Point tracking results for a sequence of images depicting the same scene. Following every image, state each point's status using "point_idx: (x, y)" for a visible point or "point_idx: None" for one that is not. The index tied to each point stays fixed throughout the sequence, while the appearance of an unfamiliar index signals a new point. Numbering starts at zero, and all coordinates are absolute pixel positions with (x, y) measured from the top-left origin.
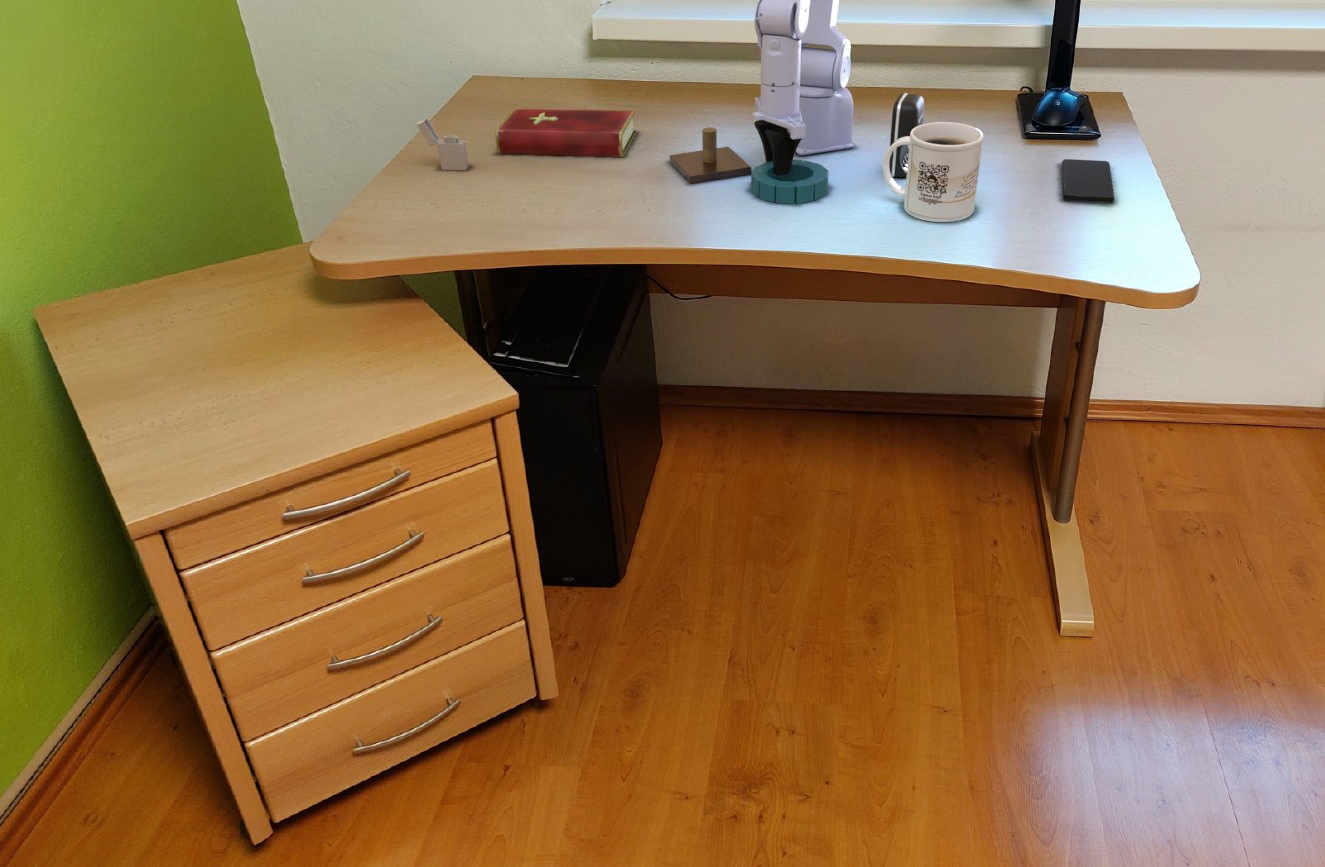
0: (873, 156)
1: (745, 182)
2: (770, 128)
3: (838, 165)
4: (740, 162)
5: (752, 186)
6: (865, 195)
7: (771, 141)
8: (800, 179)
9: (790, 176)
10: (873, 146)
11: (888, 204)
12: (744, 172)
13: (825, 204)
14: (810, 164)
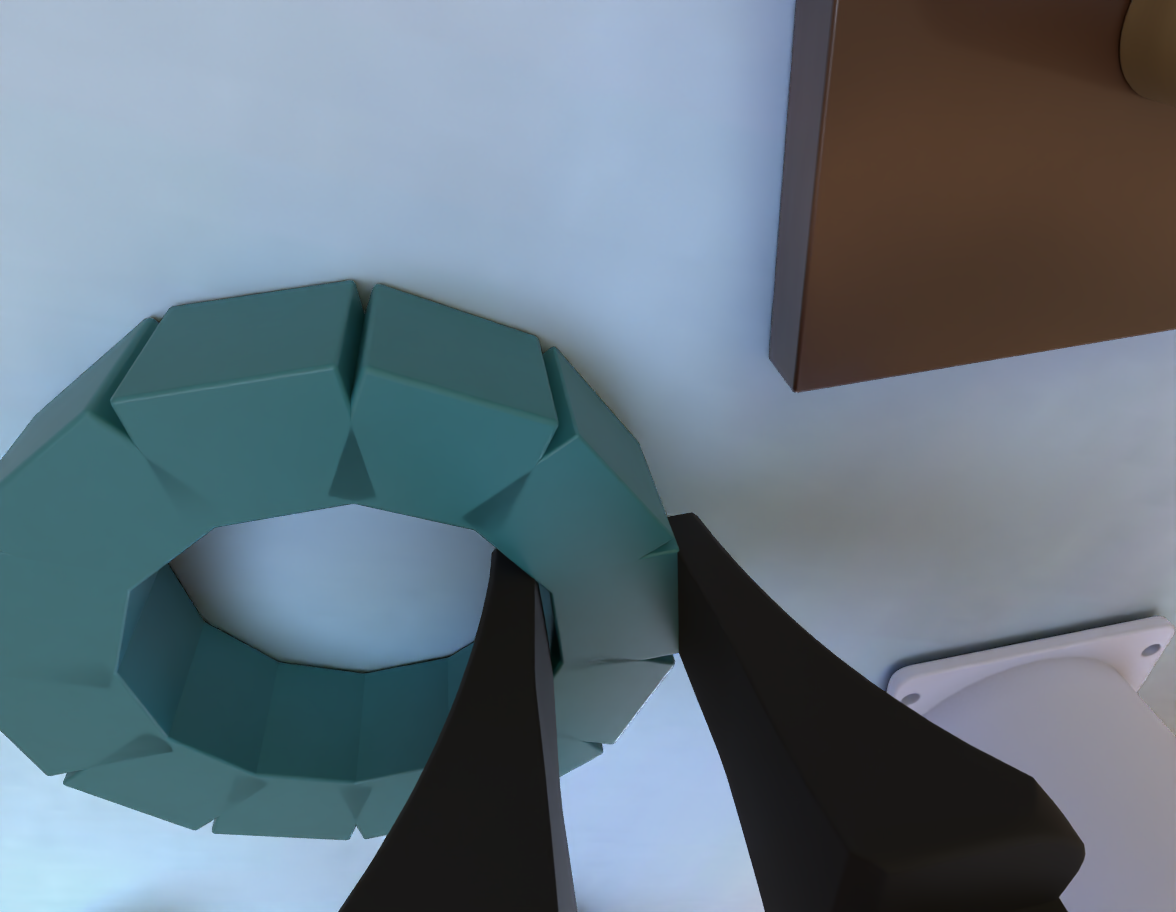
0: (719, 871)
1: (613, 274)
2: (810, 895)
3: (678, 780)
4: (946, 327)
5: (320, 310)
6: (217, 845)
7: (438, 860)
8: None
9: None
10: None
11: (77, 903)
12: (780, 313)
13: None
14: None
